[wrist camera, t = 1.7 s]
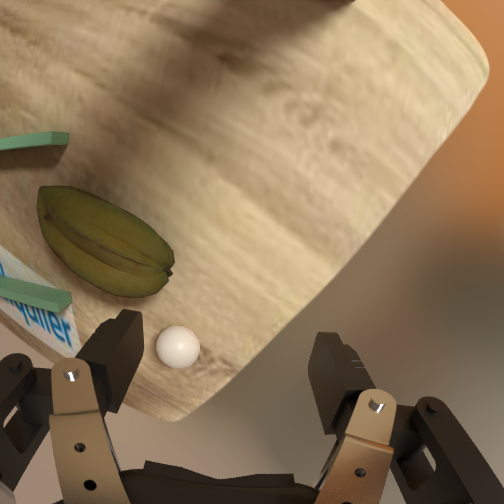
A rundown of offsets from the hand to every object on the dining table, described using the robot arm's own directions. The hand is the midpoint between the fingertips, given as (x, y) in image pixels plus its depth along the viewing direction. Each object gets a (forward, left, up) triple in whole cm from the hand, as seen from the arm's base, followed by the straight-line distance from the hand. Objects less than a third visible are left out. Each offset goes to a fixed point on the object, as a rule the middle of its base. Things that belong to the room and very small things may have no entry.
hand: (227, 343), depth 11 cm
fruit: (+12, 0, -16) cm, 20 cm away
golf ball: (+5, +11, -16) cm, 20 cm away
